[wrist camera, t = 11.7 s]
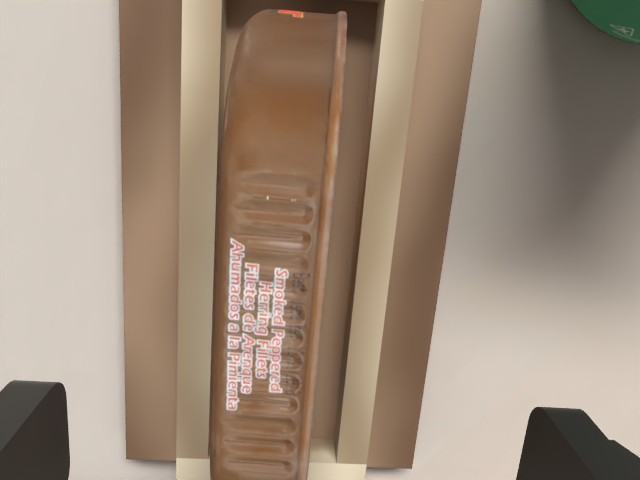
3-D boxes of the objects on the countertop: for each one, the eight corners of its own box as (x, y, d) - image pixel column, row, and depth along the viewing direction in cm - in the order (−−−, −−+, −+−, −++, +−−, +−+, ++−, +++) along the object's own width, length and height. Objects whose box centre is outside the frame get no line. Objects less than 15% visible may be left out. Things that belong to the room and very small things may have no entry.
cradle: (474, -23, 20) (502, -38, 17) (406, 450, 25) (419, 493, 23) (128, -58, 19) (103, -80, 16) (134, 441, 24) (115, 484, 22)
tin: (308, 415, 23) (319, 598, 15) (231, 412, 23) (199, 597, 15) (343, 27, 19) (385, -10, 11) (250, 18, 19) (221, -28, 11)
